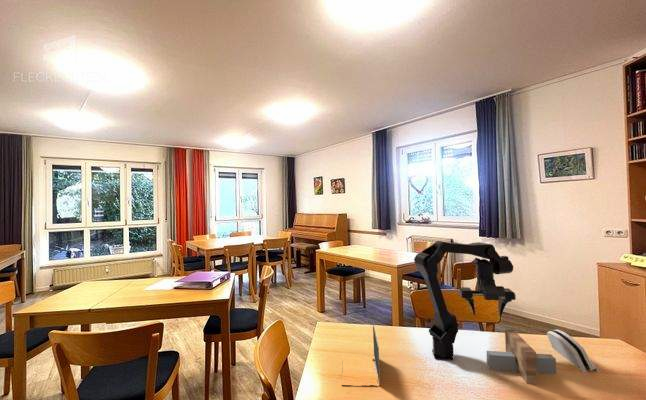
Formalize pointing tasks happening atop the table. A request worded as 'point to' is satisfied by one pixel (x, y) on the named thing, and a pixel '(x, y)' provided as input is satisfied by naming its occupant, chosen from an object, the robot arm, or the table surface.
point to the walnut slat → (522, 356)
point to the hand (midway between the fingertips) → (486, 315)
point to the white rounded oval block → (570, 350)
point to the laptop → (376, 354)
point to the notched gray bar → (508, 363)
